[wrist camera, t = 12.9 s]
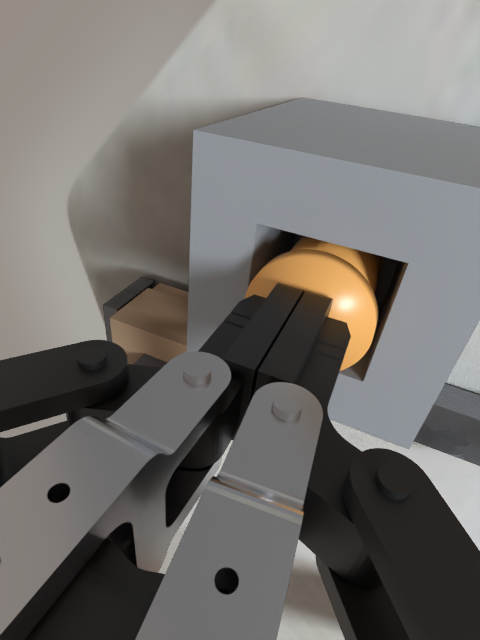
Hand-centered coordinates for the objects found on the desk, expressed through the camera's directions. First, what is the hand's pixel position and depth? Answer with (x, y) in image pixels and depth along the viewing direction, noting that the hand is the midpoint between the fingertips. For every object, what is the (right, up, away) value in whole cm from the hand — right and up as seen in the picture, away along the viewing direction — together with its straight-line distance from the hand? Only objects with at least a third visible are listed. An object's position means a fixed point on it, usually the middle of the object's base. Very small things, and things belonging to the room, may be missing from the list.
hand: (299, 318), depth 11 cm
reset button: (+2, +3, +4) cm, 6 cm away
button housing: (+4, +5, +8) cm, 11 cm away
